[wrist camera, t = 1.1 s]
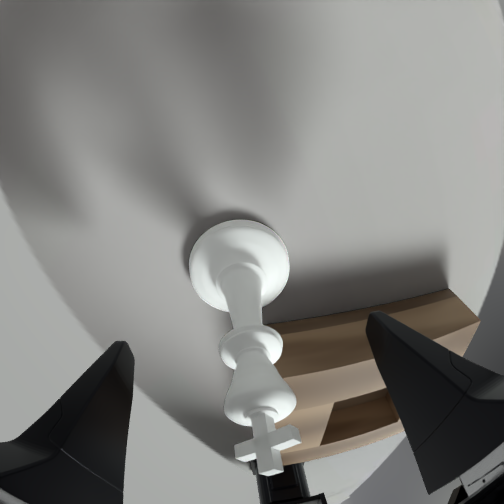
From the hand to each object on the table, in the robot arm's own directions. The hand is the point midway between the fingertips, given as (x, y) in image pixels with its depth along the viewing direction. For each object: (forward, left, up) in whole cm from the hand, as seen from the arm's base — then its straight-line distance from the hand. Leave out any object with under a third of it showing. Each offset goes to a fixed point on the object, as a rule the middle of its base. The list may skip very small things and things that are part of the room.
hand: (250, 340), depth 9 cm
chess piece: (0, 0, -5) cm, 5 cm away
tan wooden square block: (-11, -8, -5) cm, 14 cm away
